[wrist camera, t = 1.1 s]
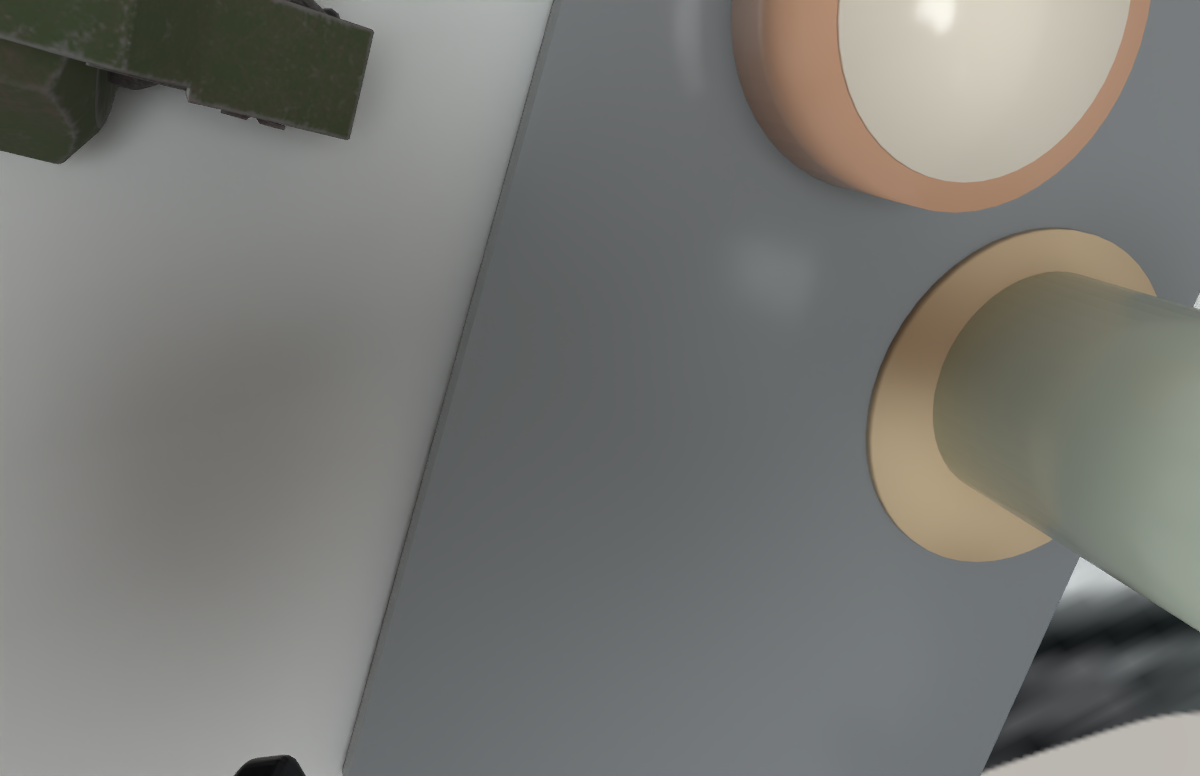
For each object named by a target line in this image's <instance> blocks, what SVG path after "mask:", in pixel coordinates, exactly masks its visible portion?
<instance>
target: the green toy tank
mask: <svg viewBox="0 0 1200 776" xmlns="http://www.w3.org/2000/svg"><path fill="white" fill-rule="evenodd" d="M373 34H374V32H373V30H371V29H368V28H366V27H363V26H360V25H357V24H354V23H351V22H348V21H345V20H342V19H340V17H339V14H338V13H337V12H335V11H334V10H333V9H322V8H321V7H320V6H319V5H318V4H317V3H316V2H315V1H314V0H0V150H1V151H5V152H9V153H13V154H18V155H22V156H26V157H30V158H34V159H38V160H43V161H47V162H51V163H55V164H60V163H63V162H65V161H66V160H67V159H68V158H69V157H70V156H71V155H73V154H74V153H75V152H76V151H77V150H78V149H80V148H81V147H82V146H83V145H84V144H85V143H86V142H88V141H89V140H90V139H91V138H92V137H93V136H94V135H95V134H97V133H98V132H99V130H100V129H101V128H102V126H103V125H104V124H105V122H106V120H107V117H108V115H109V112H110V110H111V107H112V103H113V100H114V97H115V93H116V90H117V86H122V87H125V88H129V89H134V90H139V89H143V88H146V87H150V86H153V85H157V84H161V85H165V86H169V87H173V88H177V89H181V90H185V91H186V96H187V99H188V102H190V103H194V104H199V105H203V106H208V107H212V108H216V109H220V110H221V113H224V114H227V115H231V116H234V117H238V118H241V119H245V120H247V119H248V118H250V117H254V118H256V119H257V120H258V122H259V123H260V124H263V125H267V126H270V127H274V128H278V129H282V130H284V129H285V126H284V125H287V126H291V127H295V128H299V129H303V130H307V131H311V132H316V133H320V134H324V135H328V136H332V137H336V138H340V139H344V140H348V139H350V134H351V130H352V126H353V121H354V117H355V113H356V108H357V104H358V100H359V95H360V91H361V87H362V82H363V78H364V73H365V69H366V65H367V60H368V56H369V52H370V47H371V43H372V39H373ZM274 122H275V123H274ZM278 123H279V124H278ZM281 124H283V125H281Z"/></svg>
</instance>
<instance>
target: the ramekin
mask: <svg viewBox="0 0 1200 776" xmlns="http://www.w3.org/2000/svg"><path fill="white" fill-rule="evenodd" d="M1150 1H1151V0H731V33H732V45H733V53H734V58H735V63H736V68H737V73H738V77H739V80H740V83H741V86H742V89H743V92H744V95H745V98H746V100H747V102H748V104H749V107H750V109H751V111H752V113H753V115H754V117H755V119H756V121H757V122H758V124H759V125H760V127H761V128H762V130H763V131H764V133H765V134H766V136H767V137H768V139H769V140H770V141H771V142H772V143H773V144H774V146H775V147H776V148H777V149H778V150H779V151H780V152H781V154H783V155H784V156H785V157H786V158H787V159H788V160H790V161H791V162H792V163H793V164H794V165H795V166H797V167H798V168H800V169H801V170H803V171H805V172H806V173H808V174H809V175H811V176H813V177H814V178H817V179H819V180H822V181H824V182H826V183H829V184H831V185H834V186H838V187H842V188H846V189H850V190H853V191H857V192H861V193H865V194H869V195H873V196H876V197H880V198H884V199H888V200H892V201H895V202H899V203H903V204H907V205H911V206H915V207H919V208H923V209H927V210H931V211H938V212H952V213H958V212H970V211H978V210H982V209H987V208H991V207H995V206H998V205H1001V204H1004V203H1006V202H1009V201H1011V200H1014V199H1016V198H1019V197H1020V196H1022V195H1024V194H1026V193H1028V192H1029V191H1031V190H1033V189H1035V188H1037V187H1038V186H1040V185H1041V184H1043V183H1044V182H1045V181H1047V180H1048V179H1049V178H1051V177H1052V176H1054V175H1055V174H1056V173H1058V172H1059V171H1060V170H1061V169H1062V168H1063V167H1064V166H1065V165H1066V164H1068V163H1069V162H1070V161H1071V160H1072V159H1073V158H1074V157H1075V156H1076V155H1077V154H1078V153H1079V152H1080V151H1081V149H1082V148H1083V147H1084V146H1085V145H1086V144H1087V143H1088V142H1089V140H1090V139H1091V138H1092V137H1093V135H1094V134H1095V133H1096V131H1097V130H1098V129H1099V127H1100V126H1101V124H1102V123H1103V122H1104V120H1105V119H1106V118H1107V116H1108V114H1109V112H1110V111H1111V109H1112V107H1113V106H1114V104H1115V102H1116V101H1117V99H1118V97H1119V95H1120V94H1121V91H1122V89H1123V87H1124V85H1125V83H1126V81H1127V79H1128V76H1129V74H1130V72H1131V70H1132V67H1133V64H1134V62H1135V59H1136V56H1137V53H1138V51H1139V48H1140V45H1141V41H1142V38H1143V34H1144V30H1145V26H1146V22H1147V19H1148V13H1149V7H1150Z"/></svg>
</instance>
